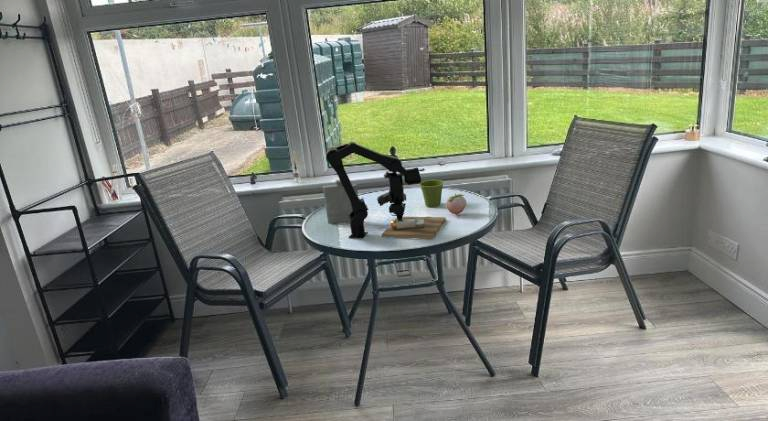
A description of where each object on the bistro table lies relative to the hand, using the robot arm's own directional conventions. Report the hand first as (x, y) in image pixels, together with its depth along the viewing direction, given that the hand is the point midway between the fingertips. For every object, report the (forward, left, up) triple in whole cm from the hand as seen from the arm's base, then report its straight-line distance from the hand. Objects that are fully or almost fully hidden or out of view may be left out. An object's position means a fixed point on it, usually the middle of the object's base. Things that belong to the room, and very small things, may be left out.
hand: (399, 221), depth 217 cm
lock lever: (-2, -4, -2) cm, 5 cm away
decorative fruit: (+20, -20, -4) cm, 29 cm away
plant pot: (+33, -6, -4) cm, 34 cm away
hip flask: (+8, +30, -4) cm, 31 cm away
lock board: (+1, -6, -4) cm, 7 cm away
